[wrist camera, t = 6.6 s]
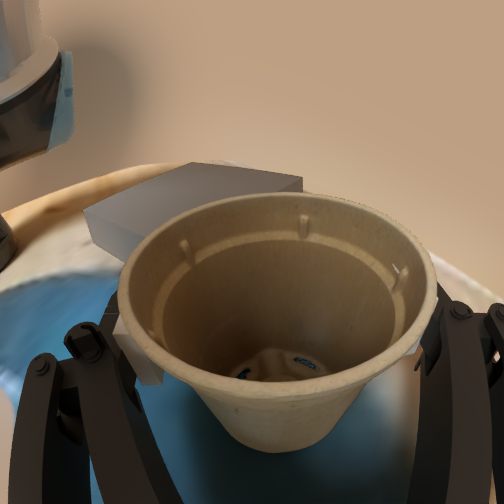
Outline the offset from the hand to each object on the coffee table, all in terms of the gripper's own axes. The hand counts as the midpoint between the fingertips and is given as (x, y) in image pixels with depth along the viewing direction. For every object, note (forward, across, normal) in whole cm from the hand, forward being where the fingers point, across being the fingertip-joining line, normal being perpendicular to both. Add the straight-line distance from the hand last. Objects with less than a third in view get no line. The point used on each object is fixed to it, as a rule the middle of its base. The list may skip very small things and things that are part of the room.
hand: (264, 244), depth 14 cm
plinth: (+15, -6, -6) cm, 17 cm away
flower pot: (-5, 0, -6) cm, 8 cm away
